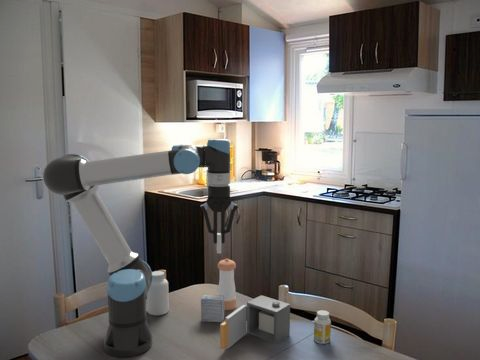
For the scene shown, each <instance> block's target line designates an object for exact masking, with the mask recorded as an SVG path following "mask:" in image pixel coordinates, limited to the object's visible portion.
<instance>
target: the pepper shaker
mask: <svg viewBox="0 0 480 360" xmlns="http://www.w3.org/2000/svg"><path fill="white" fill-rule="evenodd" d="M236 267H237V264H236V262H235V261H234V260H232V259H229V258H228V257H227V258H225V259H221V260H220V261H219V262H218V263H217V269H218V270H219V280H218V281H219V282H218V286H217V287H218V288H217V291H218V292H217V295H223V296H224V311H232V310H236V308H237V297H236V284H235V269H236Z"/></svg>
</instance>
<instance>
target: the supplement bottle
mask: <svg viewBox="0 0 480 360" xmlns="http://www.w3.org/2000/svg"><path fill="white" fill-rule="evenodd" d="M313 325H314V327H313V340H314V342H316V343H317V344H321V345H323V344H328V343H330V341H331V328H332V327H331V326H332V321H331V319H330V312H329V311H328V310H322V309H320V310H318V311H316V317H315V318H314V322H313Z"/></svg>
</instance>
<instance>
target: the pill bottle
mask: <svg viewBox="0 0 480 360" xmlns="http://www.w3.org/2000/svg"><path fill="white" fill-rule="evenodd" d="M169 310H170V302H169V281H168V280H167V279H166V278H165V272H164V271H162V270H161V271H160V270H155V271H152V283H151V286H150V288H149V291H148V293H147V296H146V311H147V313H148V315H151V316H163V315H165V314H167V313H168V312H169Z"/></svg>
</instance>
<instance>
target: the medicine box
mask: <svg viewBox="0 0 480 360" xmlns="http://www.w3.org/2000/svg"><path fill="white" fill-rule="evenodd" d="M200 321H201V322H203V323H223V322H224V321H225V310H224V296H223V295H218V294H203V295H202V296H201V298H200Z"/></svg>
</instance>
